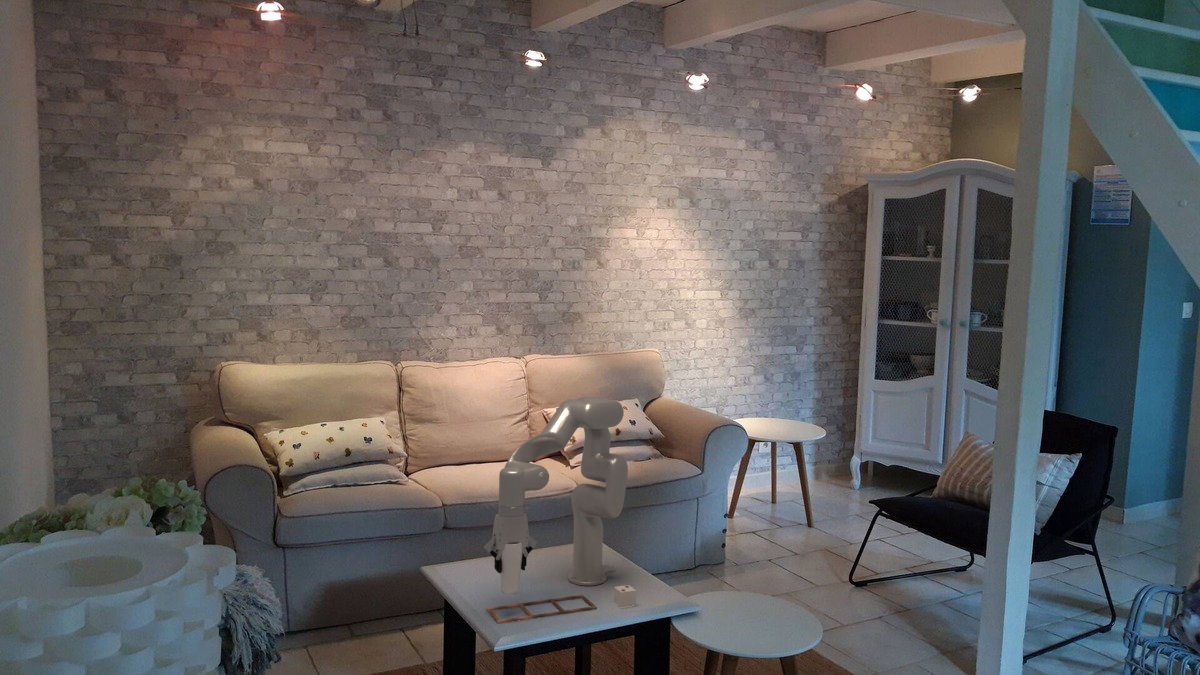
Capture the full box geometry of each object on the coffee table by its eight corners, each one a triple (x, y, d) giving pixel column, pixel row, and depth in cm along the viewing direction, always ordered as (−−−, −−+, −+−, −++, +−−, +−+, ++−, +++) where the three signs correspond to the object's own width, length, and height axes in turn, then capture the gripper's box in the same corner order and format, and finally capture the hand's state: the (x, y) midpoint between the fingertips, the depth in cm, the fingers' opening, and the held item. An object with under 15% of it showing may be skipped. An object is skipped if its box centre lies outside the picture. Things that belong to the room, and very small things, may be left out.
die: (628, 600, 280) (628, 584, 279) (635, 606, 275) (636, 589, 275) (613, 602, 278) (614, 586, 277) (620, 608, 273) (621, 592, 273)
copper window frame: (582, 596, 282) (582, 594, 282) (596, 609, 272) (596, 607, 272) (486, 610, 269) (486, 608, 269) (497, 623, 259) (497, 621, 259)
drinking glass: (498, 587, 269) (499, 537, 268) (521, 587, 270) (522, 537, 268) (498, 595, 262) (499, 544, 261) (521, 595, 263) (522, 544, 262)
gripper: (535, 504, 271) (533, 563, 272) (479, 509, 264) (478, 569, 265) (544, 511, 264) (542, 571, 266) (486, 516, 257) (485, 578, 258)
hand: (510, 569), depth 265 cm, fingers closed on drinking glass, 6 cm apart
